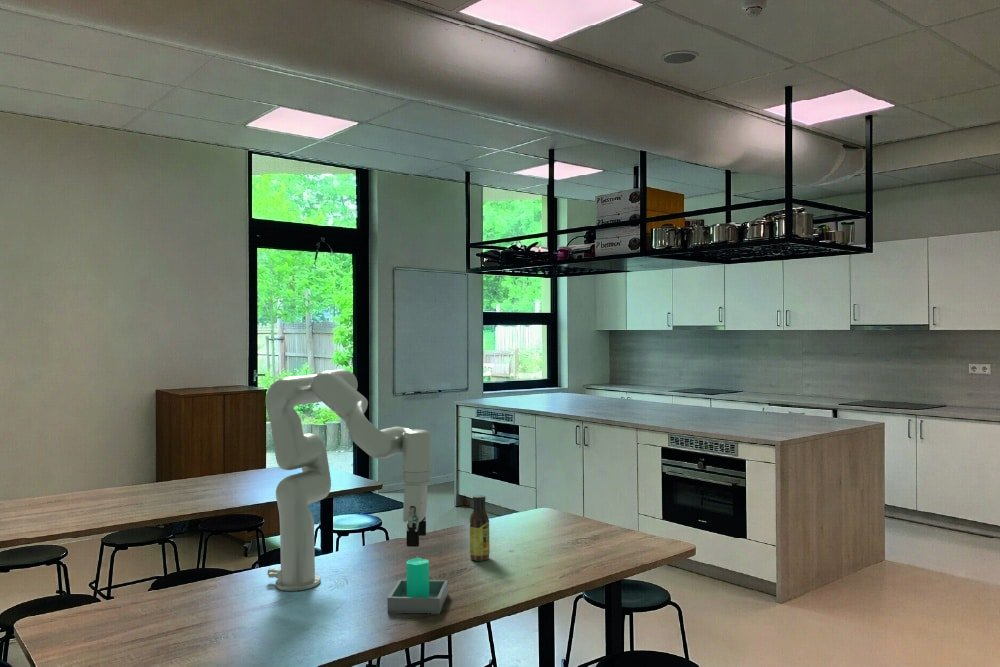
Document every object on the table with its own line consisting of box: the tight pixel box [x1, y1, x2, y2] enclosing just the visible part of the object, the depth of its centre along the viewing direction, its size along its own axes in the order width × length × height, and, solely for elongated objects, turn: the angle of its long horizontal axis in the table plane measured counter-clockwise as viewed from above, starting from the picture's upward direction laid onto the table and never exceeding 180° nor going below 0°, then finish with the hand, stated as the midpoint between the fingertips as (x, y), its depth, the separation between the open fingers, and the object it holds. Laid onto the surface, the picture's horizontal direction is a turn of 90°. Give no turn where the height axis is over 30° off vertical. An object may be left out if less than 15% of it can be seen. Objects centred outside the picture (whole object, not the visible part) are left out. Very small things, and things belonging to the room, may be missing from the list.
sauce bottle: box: [469, 494, 491, 562], centre depth 232 cm, size 7×6×20 cm
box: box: [386, 579, 449, 615], centre depth 195 cm, size 14×14×4 cm
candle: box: [405, 555, 430, 597], centre depth 195 cm, size 6×6×12 cm
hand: (416, 540), depth 195 cm, fingers open, 9 cm apart
